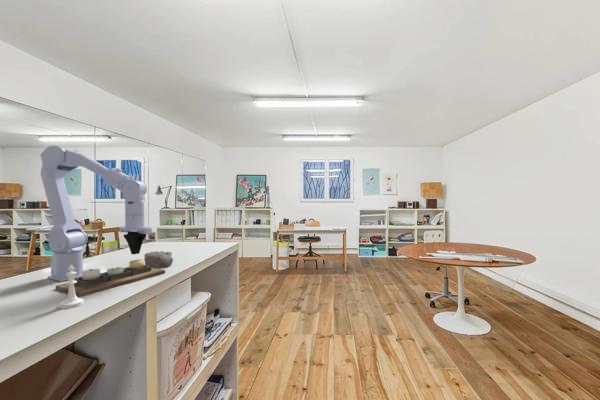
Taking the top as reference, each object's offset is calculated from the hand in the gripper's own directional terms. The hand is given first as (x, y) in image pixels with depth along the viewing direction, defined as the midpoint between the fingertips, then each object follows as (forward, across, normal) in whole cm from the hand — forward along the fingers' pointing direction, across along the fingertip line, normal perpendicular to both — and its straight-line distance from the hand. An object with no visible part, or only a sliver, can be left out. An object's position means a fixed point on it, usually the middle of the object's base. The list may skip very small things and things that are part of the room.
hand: (135, 253), depth 95 cm
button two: (+6, 0, -7) cm, 9 cm away
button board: (+8, 0, -7) cm, 10 cm away
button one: (+5, -1, -13) cm, 14 cm away
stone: (+8, -4, +13) cm, 16 cm away
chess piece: (+8, +11, -24) cm, 28 cm away
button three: (+5, 0, 0) cm, 5 cm away
